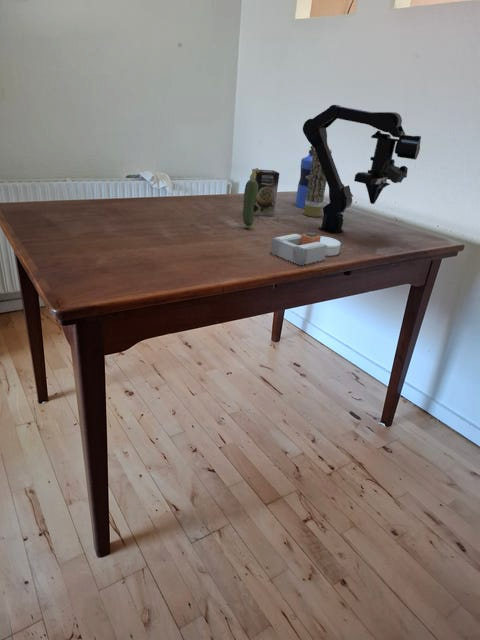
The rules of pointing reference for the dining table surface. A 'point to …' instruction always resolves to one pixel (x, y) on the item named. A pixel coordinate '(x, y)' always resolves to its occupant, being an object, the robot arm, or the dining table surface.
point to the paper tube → (315, 188)
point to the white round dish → (331, 245)
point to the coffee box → (266, 192)
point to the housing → (297, 249)
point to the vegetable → (250, 199)
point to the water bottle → (304, 179)
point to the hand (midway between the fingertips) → (372, 203)
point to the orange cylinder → (309, 238)
